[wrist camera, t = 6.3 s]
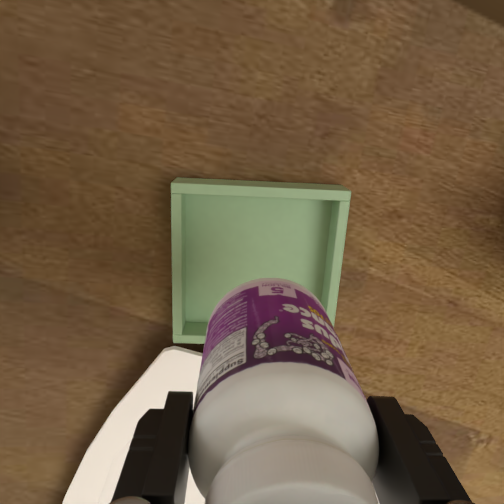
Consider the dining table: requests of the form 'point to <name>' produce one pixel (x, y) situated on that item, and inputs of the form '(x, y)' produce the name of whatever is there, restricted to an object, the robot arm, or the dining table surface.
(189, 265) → the green tray
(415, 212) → the dining table surface
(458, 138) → the dining table surface
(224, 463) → the pill bottle
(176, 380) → the plate
